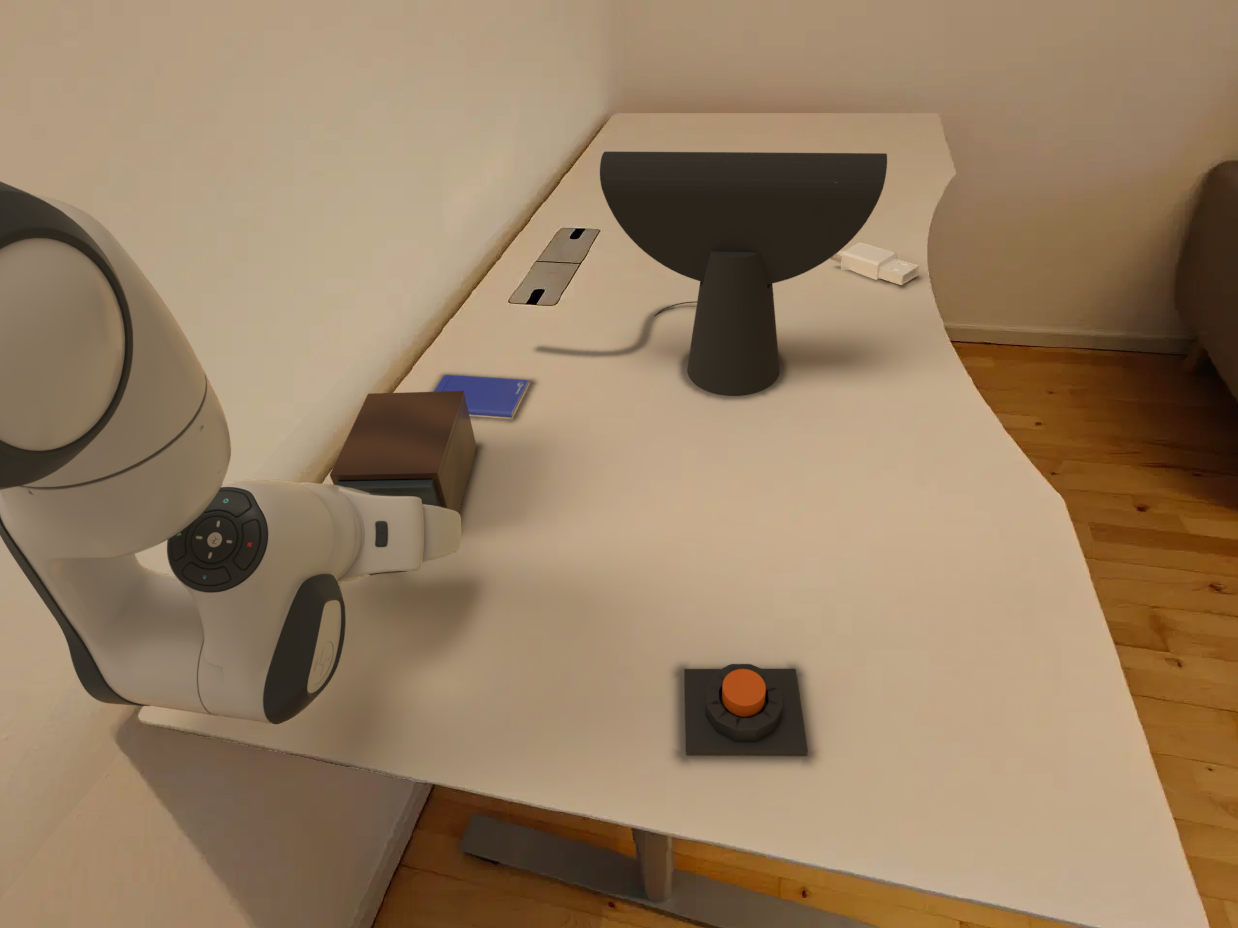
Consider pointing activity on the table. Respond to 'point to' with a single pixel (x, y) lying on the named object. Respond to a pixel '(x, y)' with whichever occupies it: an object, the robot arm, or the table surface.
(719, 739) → the block
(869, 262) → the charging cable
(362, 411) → the cabinet
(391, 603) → the table surface
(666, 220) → the table lamp
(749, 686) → the button
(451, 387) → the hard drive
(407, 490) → the drawer
